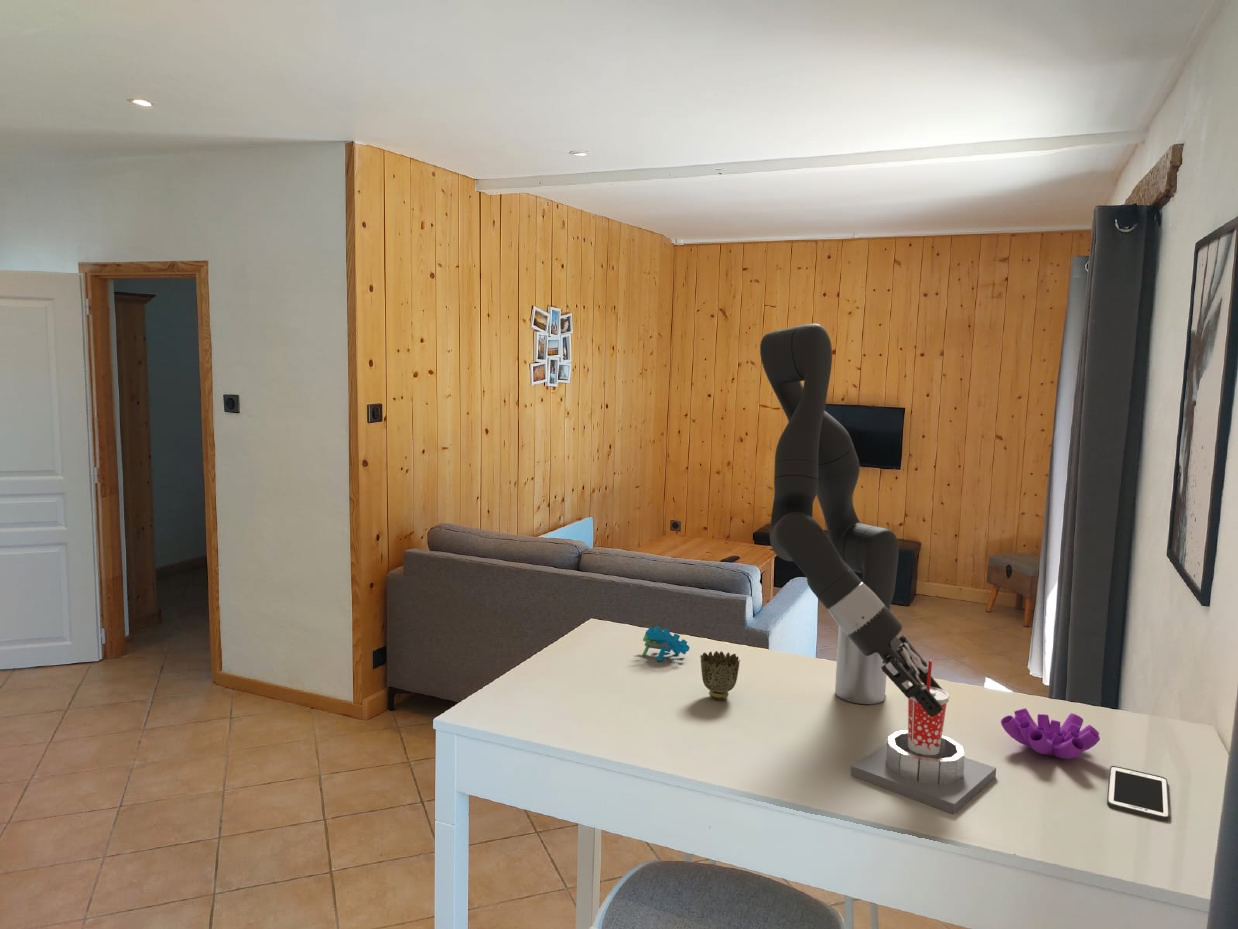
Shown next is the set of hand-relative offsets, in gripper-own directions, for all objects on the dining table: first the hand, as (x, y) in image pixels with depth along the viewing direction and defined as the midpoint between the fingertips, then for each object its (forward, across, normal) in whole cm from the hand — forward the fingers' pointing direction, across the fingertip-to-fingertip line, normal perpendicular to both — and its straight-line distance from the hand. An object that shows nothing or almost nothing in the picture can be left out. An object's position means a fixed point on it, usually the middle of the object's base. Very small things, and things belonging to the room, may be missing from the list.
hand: (938, 705), depth 129 cm
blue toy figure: (-31, +33, +49) cm, 67 cm away
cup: (-19, +16, +36) cm, 44 cm away
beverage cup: (+4, 0, +6) cm, 8 cm away
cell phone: (+29, +9, -12) cm, 32 cm away
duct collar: (+6, 0, +8) cm, 10 cm away
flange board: (+7, 0, +9) cm, 12 cm away
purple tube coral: (+20, +18, -4) cm, 27 cm away
